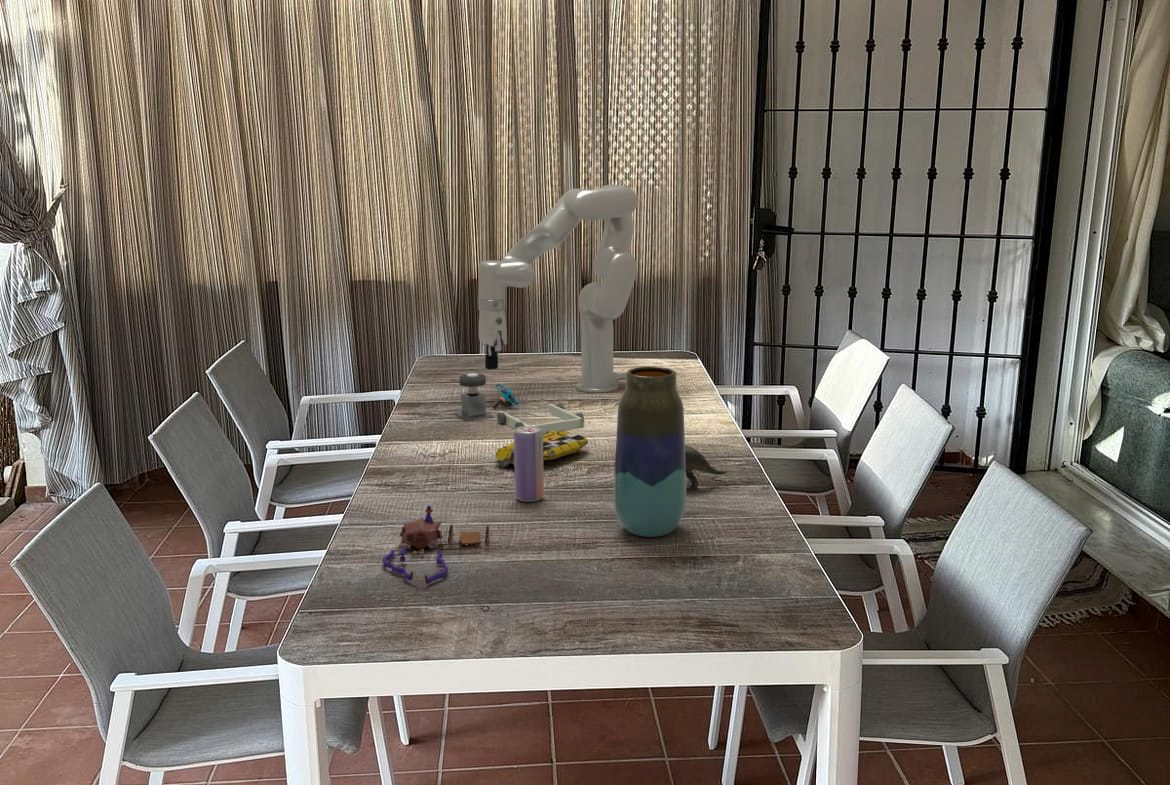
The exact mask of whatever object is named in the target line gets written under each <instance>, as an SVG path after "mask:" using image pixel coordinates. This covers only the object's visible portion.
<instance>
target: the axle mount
mask: <svg viewBox="0 0 1170 785" xmlns="http://www.w3.org/2000/svg"><path fill="white" fill-rule="evenodd" d="M477 392H478V393H476V394H469V392H466V393H465V392H464V393H460V402H461V404H460V405H461V411H458V412H454V415H455V416H456V417H458V418H460V419H462V420H463V421H464V422H470V421H476V420H485V419H491V418H494V415H493V414H492V413H490V412H488V411H487V410H486V409H487V408H486V407H487V406H486V403H487V402H486V394H483V393H482V392H479V391H477Z"/></svg>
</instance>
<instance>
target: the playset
mask: <svg viewBox="0 0 1170 785" xmlns="http://www.w3.org/2000/svg"><path fill="white" fill-rule="evenodd" d="M433 512H434V511H433V508H432V506H431V504H428V505H427V507H426V509H425V513H426V515H425V517H424V518H425V519H424V518H423V517H421V518H419V519H418V520H416V521H411V522H409V523H403V526H401V532H400V533H399V537H401V539H400V540H401V542H400V543H399V544H398V548H396V549H390V552H389V553H388V554H386V555H385V556H384V557H382V565H383V567H385V568H389V569H391V571H393V572H395V573H398V574H403V577H404V579H405V580H408V581H412V582H414V584H415V585H417V586H418V585H420V583H424V582H425V585H429V584H431V583H432V582H434V581H436V580H439V579H442V578H444V577H446V576H447V575H448V572H449V567H448V566H446V561H445V560H444V558H443V551H449V550H457V551H458V550H459V551H460V552H461V551H462V550H475V551H477V550H479V549H482V546H478V545H481V544H482V541H480V539H481V538H480V536H481V535H480V533H481V532H479V531H476V532H465V531H464V532H461V533H460V537H459V542H453V533H454V524H452V523H451V524H450V526H449V528H448V537H447V543H443V542H441V543H439V541H438V540H443V538H444V536H443V535H442V532H441V530H439V528H440V526H441V525H442V521H439V522H434V520H433V517H432V516H431V513H433ZM485 529H486V530H485V539H484V543H485V547H486V548H489V543H490V539H489V538H490V526H489V525H488V524H487V525H486V527H485ZM463 545H465V546H468V545H472V546H473V545H475V546H473V547H470V546H469V547H463ZM439 546H440V548H438V547H439ZM444 546H459V547H453V548H452V547H451V548H448V547H447V548H444ZM412 547H415V548H416V549H420V550H418V551H416V550H414V551H412V554H419V553H420V555H424V554H425V548H426V547H428V548H430V549H436V548H438V550H437V551H436V554H437V556H436V558H435V562H436V564H437V565H435V568H437V571H438V572H437V573H435V574H432V575H430V576H428V575H427V574H425V575H424V579H420V580H418V579H417V578H414V572H413V570H410V572H409V573H407V570H406V568H405V567H404V566H402V564H398V565H397V566H396V565H395V563H392V562H388V561H390V560H391V559H392V558H394V556H395V552H399V553H398V554H397V556H400V555H401V556H400V557H399V561H400V562H401V563H402V562H406V556H407V555H408V552H407V550H409V549H411V548H412ZM404 555H405V556H404Z"/></svg>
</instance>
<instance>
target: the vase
mask: <svg viewBox="0 0 1170 785" xmlns="http://www.w3.org/2000/svg"><path fill="white" fill-rule="evenodd" d="M625 373H626V379H625V389H624V391H623V393H622V396H621V398H620V399H619V402H618V405H617V406H618V408H617V422H616V438H615V456H614V474H613V505H614V512H615V514H616V515H615V516H616V517H617V519H618V521H619V522H620V525H622V527H623V528H624V529H625V530H626V531H628V533H631V534H632V535H635V536H639V537H645V538H646V537H647V538H652V537H653V538H655V537H662V536H665V535H668V534H670V533H672V532H673V531H674V530H675V529H676V528H677V527H678V525H679V524H680V523H681V521H682V519H683V517H684V514H685V510H686V504H687V477H686V461H685V445H686V439H685V438H686V436H685V435H686V434H685V413H684V412H685V411H684V402H683V400H682V398H681V395H680V394H679V392H678V388H677V372H676V371H675V370H674V369H671V368H668V367H661V366H660V367H659V366H639V367H633V368H631V369H628V370H626V372H625Z"/></svg>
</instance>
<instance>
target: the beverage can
mask: <svg viewBox="0 0 1170 785" xmlns="http://www.w3.org/2000/svg"><path fill="white" fill-rule="evenodd" d="M513 442H514V459H515V467H514V491H515V492H514V493H515V497H516V498H517V500H519V501H520V502H523V503H524V502H525V503H532V502H533V503H534V502H537V501H541V500H542V499H543V497H544V495H545V494H544V492H545V490H544V486H545V485H544V460H543V433H542V429H541V428H540V427H538V426H520V427H517V428H516V429H514V434H513Z"/></svg>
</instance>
